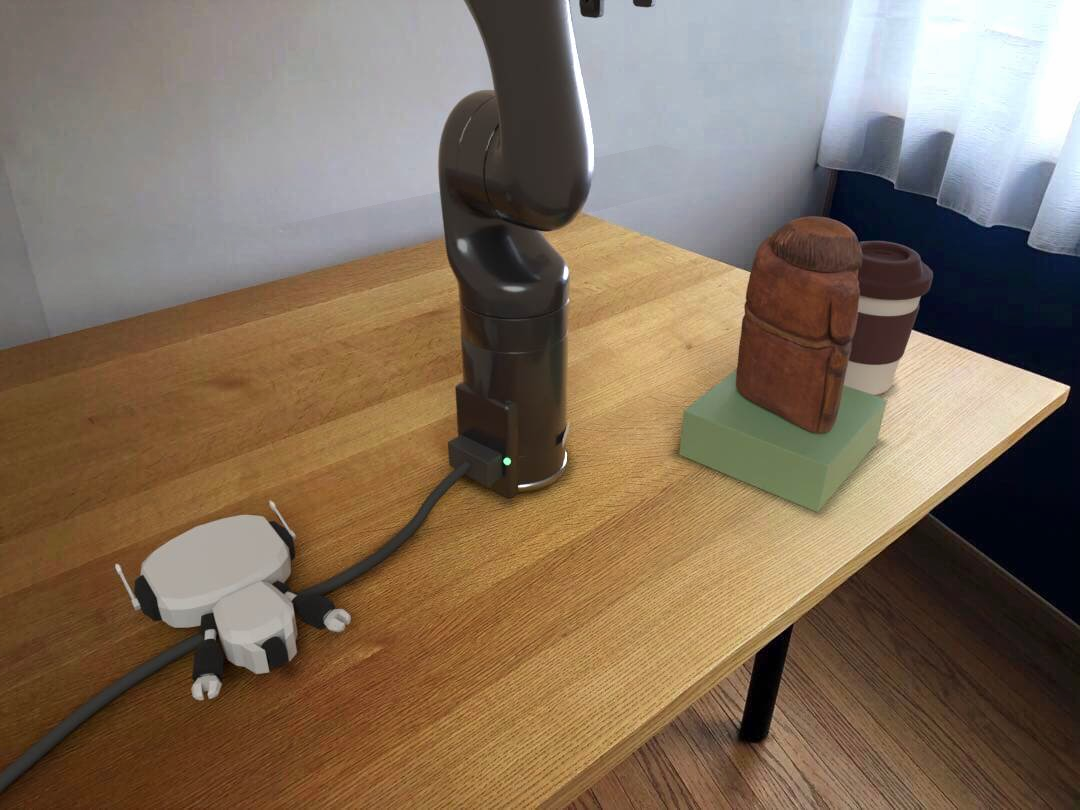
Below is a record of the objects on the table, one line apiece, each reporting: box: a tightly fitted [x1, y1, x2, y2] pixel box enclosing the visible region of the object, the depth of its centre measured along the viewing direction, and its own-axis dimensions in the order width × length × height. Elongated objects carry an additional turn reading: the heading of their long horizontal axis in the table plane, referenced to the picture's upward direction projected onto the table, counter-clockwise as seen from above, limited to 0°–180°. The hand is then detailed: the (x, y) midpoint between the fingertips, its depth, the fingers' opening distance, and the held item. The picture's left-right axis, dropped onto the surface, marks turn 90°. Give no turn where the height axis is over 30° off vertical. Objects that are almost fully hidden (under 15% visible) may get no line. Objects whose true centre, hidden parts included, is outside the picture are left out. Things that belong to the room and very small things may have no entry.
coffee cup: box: [844, 240, 934, 396], centre depth 91 cm, size 10×10×15 cm
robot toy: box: [114, 499, 352, 701], centre depth 63 cm, size 12×4×15 cm
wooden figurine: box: [736, 215, 863, 434], centre depth 76 cm, size 12×6×18 cm, turn 38°
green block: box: [678, 368, 888, 513], centre depth 82 cm, size 14×14×5 cm
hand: (618, 11), depth 81 cm, fingers open, 8 cm apart
